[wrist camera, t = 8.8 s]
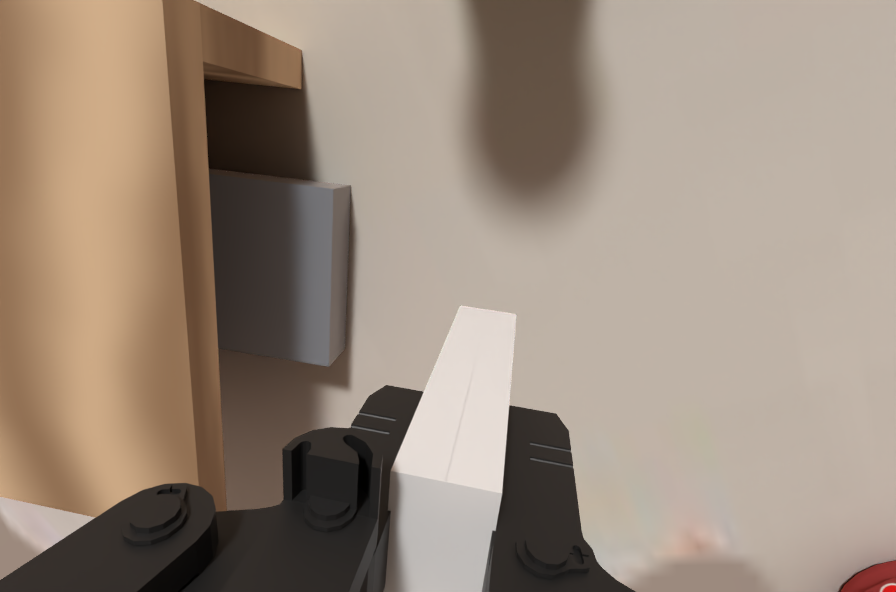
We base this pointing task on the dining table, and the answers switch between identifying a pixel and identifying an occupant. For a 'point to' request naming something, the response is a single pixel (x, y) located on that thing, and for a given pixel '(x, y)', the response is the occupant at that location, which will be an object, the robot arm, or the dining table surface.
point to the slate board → (280, 265)
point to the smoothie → (874, 579)
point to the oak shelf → (112, 245)
